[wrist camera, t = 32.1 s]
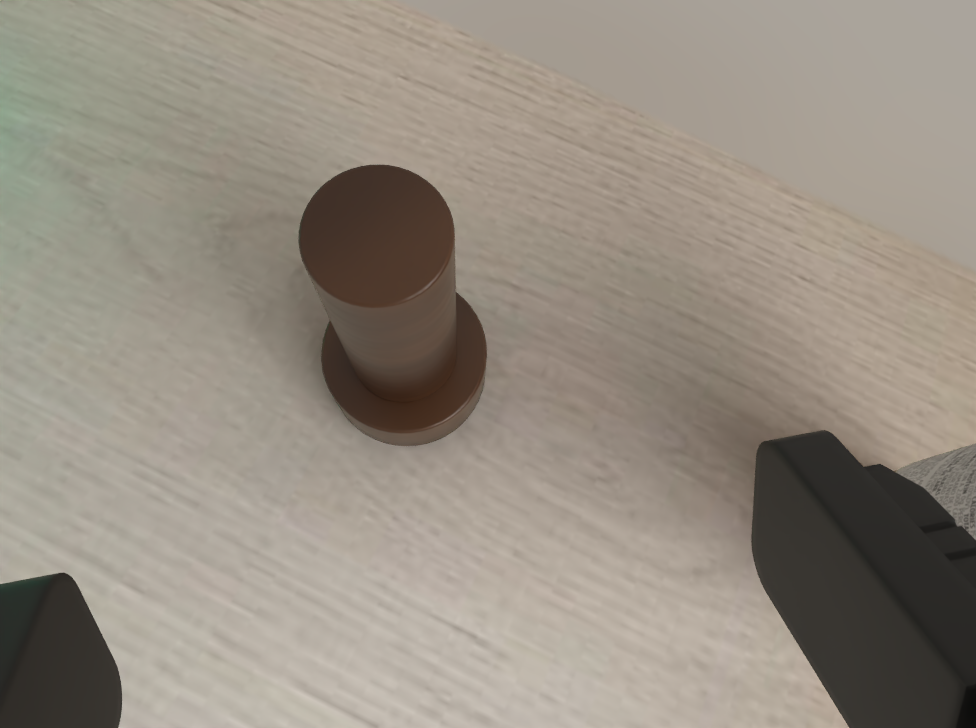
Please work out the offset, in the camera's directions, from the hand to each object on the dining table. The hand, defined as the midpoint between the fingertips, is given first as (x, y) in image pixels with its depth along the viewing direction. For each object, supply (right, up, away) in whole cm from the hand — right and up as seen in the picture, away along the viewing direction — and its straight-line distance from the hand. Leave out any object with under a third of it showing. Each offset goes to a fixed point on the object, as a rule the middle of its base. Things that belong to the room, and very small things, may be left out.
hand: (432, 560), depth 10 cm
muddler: (-2, +2, +14) cm, 15 cm away
